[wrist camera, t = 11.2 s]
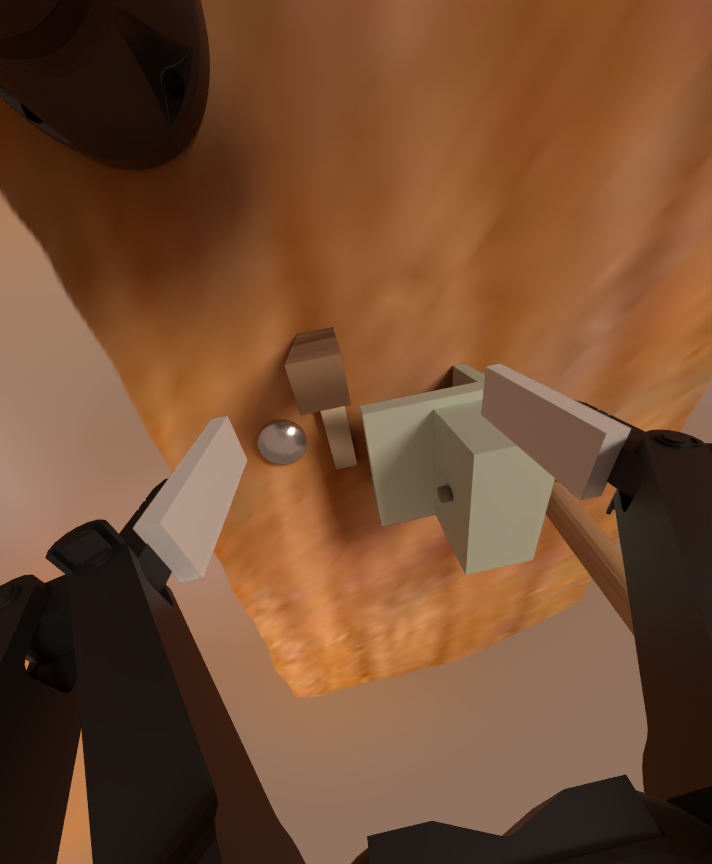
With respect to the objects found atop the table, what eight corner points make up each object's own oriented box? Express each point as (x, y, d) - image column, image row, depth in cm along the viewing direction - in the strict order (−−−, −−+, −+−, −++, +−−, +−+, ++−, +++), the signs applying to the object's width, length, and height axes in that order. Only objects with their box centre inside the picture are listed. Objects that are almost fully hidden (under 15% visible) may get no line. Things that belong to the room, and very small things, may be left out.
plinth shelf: (353, 386, 33) (378, 463, 19) (464, 363, 33) (569, 423, 19) (371, 484, 41) (398, 589, 27) (460, 465, 41) (532, 559, 27)
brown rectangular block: (296, 334, 29) (284, 365, 19) (332, 327, 29) (340, 353, 19) (332, 465, 38) (337, 534, 28) (359, 459, 38) (374, 526, 28)
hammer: (508, 504, 50) (665, 755, 27) (484, 504, 49) (624, 762, 26) (580, 418, 38) (983, 748, 15) (549, 415, 37) (924, 762, 14)
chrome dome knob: (256, 420, 34) (253, 425, 32) (304, 417, 34) (304, 423, 33) (263, 459, 37) (261, 465, 35) (308, 456, 37) (307, 462, 36)
